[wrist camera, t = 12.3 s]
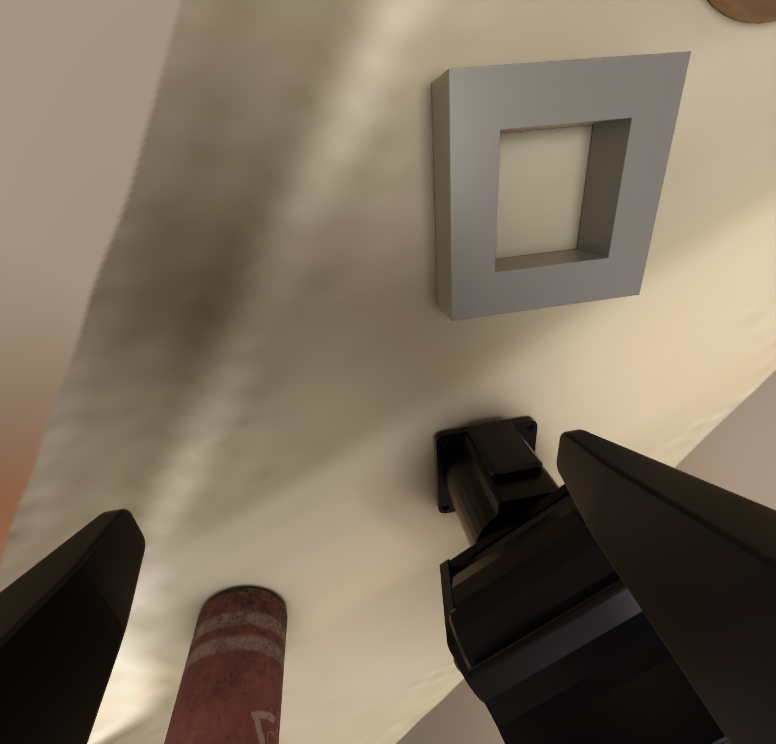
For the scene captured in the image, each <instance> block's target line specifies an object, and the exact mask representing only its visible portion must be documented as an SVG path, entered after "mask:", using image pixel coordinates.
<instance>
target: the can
mask: <svg viewBox="0 0 776 744" xmlns="http://www.w3.org/2000/svg"><path fill="white" fill-rule="evenodd" d="M286 628H287V613H286V609H285V607H284V605H283V604H282V602H281V601H280V600H279V599H278V597H277V596H276V595H274V594H272V593H270V592H269V591H266V590H262V589H259V588H246V587H243V588H237V589H231V590H228V591H226V592H223V593H221V594H219V595H218V596H216V597H215V598H213V599H212V600H211V601H210V602H209V603H208V604H207V605H206V606H205V607H204V608H203V610H202V611H201V613H200V614H199V617H198V620H197V624H196V628H195V632H194V635H193V639H192V643H191V646H190V650H189V654H188V657H187V661H186V665H185V669H184V672H183V676H182V680H181V683H180V687H179V691H178V694H177V698H176V702H175V706H174V709H173V713H172V717H171V720H170V724H169V728H168V732H167V735H166V739H165V743H164V744H279V729H280V715H281V701H282V686H283V672H284V657H285V643H286Z"/></svg>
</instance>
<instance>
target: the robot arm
mask: <svg viewBox="0 0 776 744" xmlns="http://www.w3.org/2000/svg"><path fill="white" fill-rule="evenodd" d="M529 424H530V426H529V427H527V425H529ZM536 435H537V423H536V422H535V421H534V419H533V418H531V417H527V418H521V419H515V420H509V421H501V422H496V423H490V424H484V425H478V426H472V427H467V428H461V429H455V430H449V431H443V432H440V433H438V434H437V435H436V436H435V465H436V491H437V506H438V509H439V511H440V512H441V513H449V512H454V511H456V512H457V515H458V517H459V520H460V522H461V525H462V527H463V529H464V532H465V534H466V537H467V539H468V542H469V544H470V547H469V548H468V549H466V550H465V551H463V552H462V553H460V554H459V555H457V556H456V557H454V558H453V559H451V560H449V559H448V560H446V561H445V562H443V563H442V564H440V572H441V584H442V594H443V605H444V616H445V626H446V635H447V644H448V647H449V650H450V652H451V653H452V655H453V658H454V663H455V665H456V667H457V669H458V670H459V671H460V672H461V673H462V675H463V676H464V678H465V680H466V682H467V683H468V685H469V686H470V688H471V689H472V690H473V692H474V693H475V694H476V696H477V697H478V698H479V699H480V700H481V701H482V702H484V703H485V704H486V706H487V708H488V710H489V712H490V714H491V715H492V718H493V720H494V721H495V723H496V725H497V727H498V729H499V731H500V734H501V736H502V738H503V740H504V742H505V744H776V510H774V509H771V508H769V507H766V506H764V505H762V504H759V503H757V502H754V501H752V500H749V499H747V498H745V497H742V496H740V495H738V494H735V493H733V492H730V491H728V490H725V489H723V488H721V487H718V486H716V485H713V484H711V483H708V482H706V481H704V480H702V479H699V478H697V477H694V476H692V475H689V474H687V473H685V472H682V471H680V470H678V469H675V468H673V467H670V466H668V465H666V464H663V463H661V462H658V461H656V460H654V459H651V458H649V457H646V456H644V455H642V454H639V453H637V452H634V451H632V450H630V449H627V448H625V447H622V446H620V445H618V444H615V443H613V442H610V441H608V440H606V439H603V438H601V437H598V436H596V435H594V434H591V433H589V432H587V431H584V430H573V431H567V432H564V433H562V435H561V436H560V441H559V448H558V455H557V468H558V471H559V473H560V475H561V477H562V479H563V481H564V483H565V484H564V485H562V486H561V487H559V486H558V485H557V483H556V482H555V481H554V479H553V478H552V477H551V476H550V474H549V473H548V472H547V470H546V469H545V468H544V467H543V463H542V461H541V460H540V459H539V458H538V456H537V455H536V454H535V444H536ZM442 439H446V440H445V441H443V442H440V441H441V440H442ZM444 505H446V506H444ZM144 551H145V539H144V536H143V534H142V532H141V530H140V528H139V526H138V525H137V523H136V521H135V519H134V517H133V515H132V514H131V512H130V511H129V510H127V509H119V510H113V511H108V512H104V513H102V514H100V515H99V516H98V517H96V518H95V519H94V520H93V521H91V522H90V523H89V524H87V525H86V526H85V527H84V528H82V529H81V530H80V531H78V532H77V533H76V534H75V535H73V536H72V537H71V538H69V539H68V540H67V541H66V542H64V543H63V544H62V545H60V546H59V547H58V548H57V549H55V550H54V551H53V552H51V553H50V554H49V555H48V556H46V557H45V558H44V559H43V560H41V561H40V562H39V563H37V564H36V565H35V566H34V567H32V568H31V569H30V570H28V571H27V572H26V573H25V574H23V575H22V576H21V577H19V578H18V579H17V580H16V581H14V582H13V583H12V584H10V585H9V586H8V587H7V588H5V589H4V590H3V591H1V592H0V744H87V742H88V739H89V737H90V734H91V731H92V728H93V725H94V722H95V719H96V716H97V713H98V710H99V707H100V704H101V701H102V698H103V696H104V693H105V690H106V687H107V684H108V681H109V678H110V675H111V672H112V669H113V666H114V663H115V660H116V657H117V655H118V652H119V649H120V646H121V643H122V640H123V636H124V633H125V630H126V627H127V623H128V619H129V615H130V611H131V607H132V602H133V598H134V594H135V589H136V585H137V581H138V577H139V572H140V568H141V564H142V559H143V555H144Z"/></svg>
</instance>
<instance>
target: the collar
mask: <svg viewBox="0 0 776 744" xmlns="http://www.w3.org/2000/svg"><path fill="white" fill-rule="evenodd" d="M690 53H691V51H688V52H674V53H661V54H647V55H633V56H619V57H605V58H591V59H577V60H564V61H550V62H536V63H522V64H508V65H494V66H480V67H466V68H453V69H448V70H447V71H446V72H445V73H443V74H442V75H441V76H440V77H438V78H437V79H436V80H435V81H433V82H432V83H431V86H432V121H433V156H434V192H435V227H436V262H437V297H438V306H439V307H440V308H441V309H442V310H443V311H444V312H445V313H446V314H447V316H448V317H449V318H450V319H451V320H459V319H467V318H474V317H481V316H488V315H496V314H503V313H510V312H517V311H524V310H532V309H539V308H546V307H553V306H560V305H568V304H575V303H582V302H589V301H596V300H604V299H611V298H618V297H625V296H633V295H639V293H640V288H641V284H642V279H643V274H644V269H645V265H646V260H647V255H648V251H649V246H650V241H651V237H652V232H653V227H654V222H655V218H656V213H657V208H658V204H659V199H660V194H661V190H662V185H663V180H664V176H665V171H666V166H667V161H668V157H669V152H670V147H671V143H672V138H673V133H674V129H675V124H676V119H677V114H678V110H679V105H680V100H681V96H682V91H683V86H684V82H685V77H686V72H687V68H688V63H689V58H690ZM584 125H593V131H592V139H591V146H590V154H589V162H588V169H587V177H586V185H585V192H584V200H583V207H582V215H581V223H580V230H579V238H578V245H577V249H573V250H564V251H556V252H548V253H540V254H532V255H524V256H516V257H508V258H500V259H495V252H496V227H497V201H498V175H499V150H500V133H507V132H518V131H529V130H540V129H551V128H562V127H573V126H584Z"/></svg>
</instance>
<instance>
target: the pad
mask: <svg viewBox="0 0 776 744" xmlns="http://www.w3.org/2000/svg"><path fill="white" fill-rule="evenodd" d="M708 1H709V2H710V3H711V5H712V6H713V7H715V8H716V9H717V10H718V11H720V12H721V13H722V14H724V15H726V16H728V17H730V18H732V19H734V20H738V21H742V22H746V23H764V22H770V21H775V20H776V0H708Z"/></svg>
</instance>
